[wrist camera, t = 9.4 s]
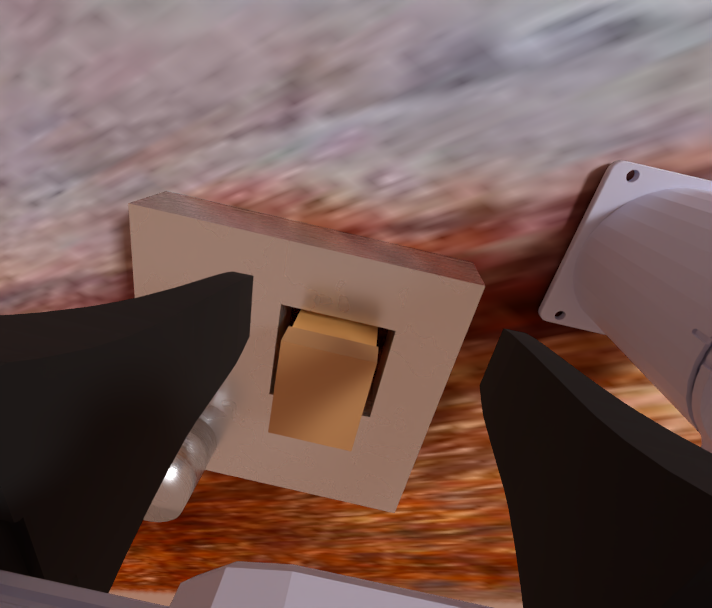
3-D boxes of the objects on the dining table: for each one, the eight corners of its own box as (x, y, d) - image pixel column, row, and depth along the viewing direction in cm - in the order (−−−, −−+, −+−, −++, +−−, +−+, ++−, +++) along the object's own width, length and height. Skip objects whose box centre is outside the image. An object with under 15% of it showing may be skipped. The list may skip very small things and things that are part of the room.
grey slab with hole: (473, 262, 19) (509, 332, 13) (394, 473, 27) (393, 582, 20) (165, 191, 19) (54, 227, 13) (171, 421, 26) (101, 515, 20)
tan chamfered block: (382, 299, 21) (377, 363, 15) (362, 373, 23) (351, 451, 18) (311, 282, 21) (281, 340, 15) (297, 358, 23) (268, 432, 18)
